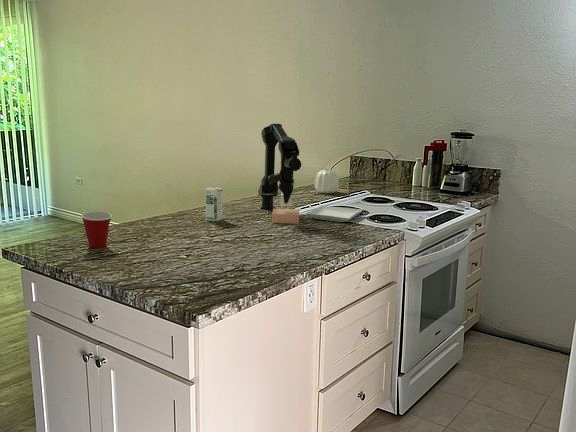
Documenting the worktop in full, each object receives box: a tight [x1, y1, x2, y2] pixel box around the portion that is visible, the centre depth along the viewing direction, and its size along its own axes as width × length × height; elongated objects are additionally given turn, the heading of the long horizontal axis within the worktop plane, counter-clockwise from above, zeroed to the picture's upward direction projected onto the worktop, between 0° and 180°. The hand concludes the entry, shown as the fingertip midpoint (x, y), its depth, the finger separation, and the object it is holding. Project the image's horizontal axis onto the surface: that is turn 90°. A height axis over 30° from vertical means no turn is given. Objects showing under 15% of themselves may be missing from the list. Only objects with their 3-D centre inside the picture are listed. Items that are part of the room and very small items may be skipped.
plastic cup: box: [80, 211, 113, 249], centre depth 209 cm, size 11×11×12 cm
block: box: [279, 192, 293, 207], centre depth 258 cm, size 5×5×5 cm
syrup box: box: [205, 186, 224, 222], centre depth 256 cm, size 6×6×14 cm
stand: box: [271, 208, 300, 225], centre depth 260 cm, size 12×12×4 cm
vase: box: [314, 168, 340, 195], centre depth 333 cm, size 14×14×13 cm
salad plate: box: [306, 205, 363, 223], centre depth 269 cm, size 21×21×3 cm
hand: (286, 202), depth 259 cm, fingers closed on block, 5 cm apart
